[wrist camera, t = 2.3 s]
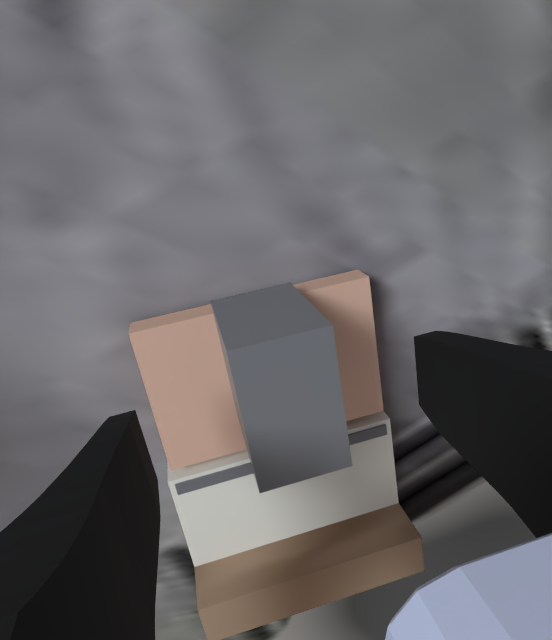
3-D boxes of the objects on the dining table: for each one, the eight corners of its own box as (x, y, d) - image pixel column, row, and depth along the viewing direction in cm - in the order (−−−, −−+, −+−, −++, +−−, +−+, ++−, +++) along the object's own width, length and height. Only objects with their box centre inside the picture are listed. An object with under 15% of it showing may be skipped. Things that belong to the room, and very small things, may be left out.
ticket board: (376, 402, 18) (414, 447, 16) (388, 514, 20) (424, 571, 18) (167, 461, 17) (168, 519, 14) (202, 573, 19) (208, 644, 16)
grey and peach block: (356, 258, 16) (434, 299, 11) (372, 397, 18) (444, 481, 13) (127, 311, 15) (111, 380, 10) (170, 453, 17) (172, 565, 12)
